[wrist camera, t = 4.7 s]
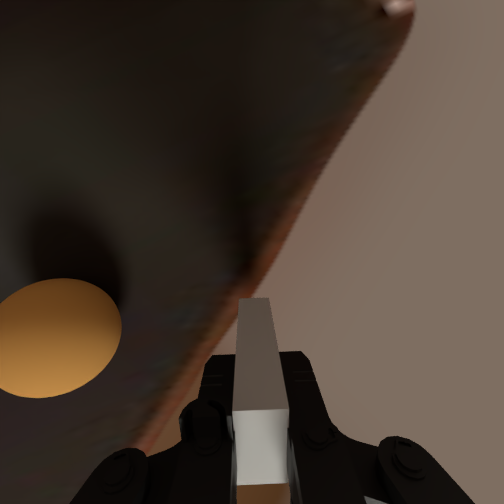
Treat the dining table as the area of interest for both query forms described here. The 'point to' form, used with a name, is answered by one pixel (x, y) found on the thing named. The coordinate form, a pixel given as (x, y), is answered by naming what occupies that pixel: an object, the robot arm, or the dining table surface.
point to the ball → (56, 337)
